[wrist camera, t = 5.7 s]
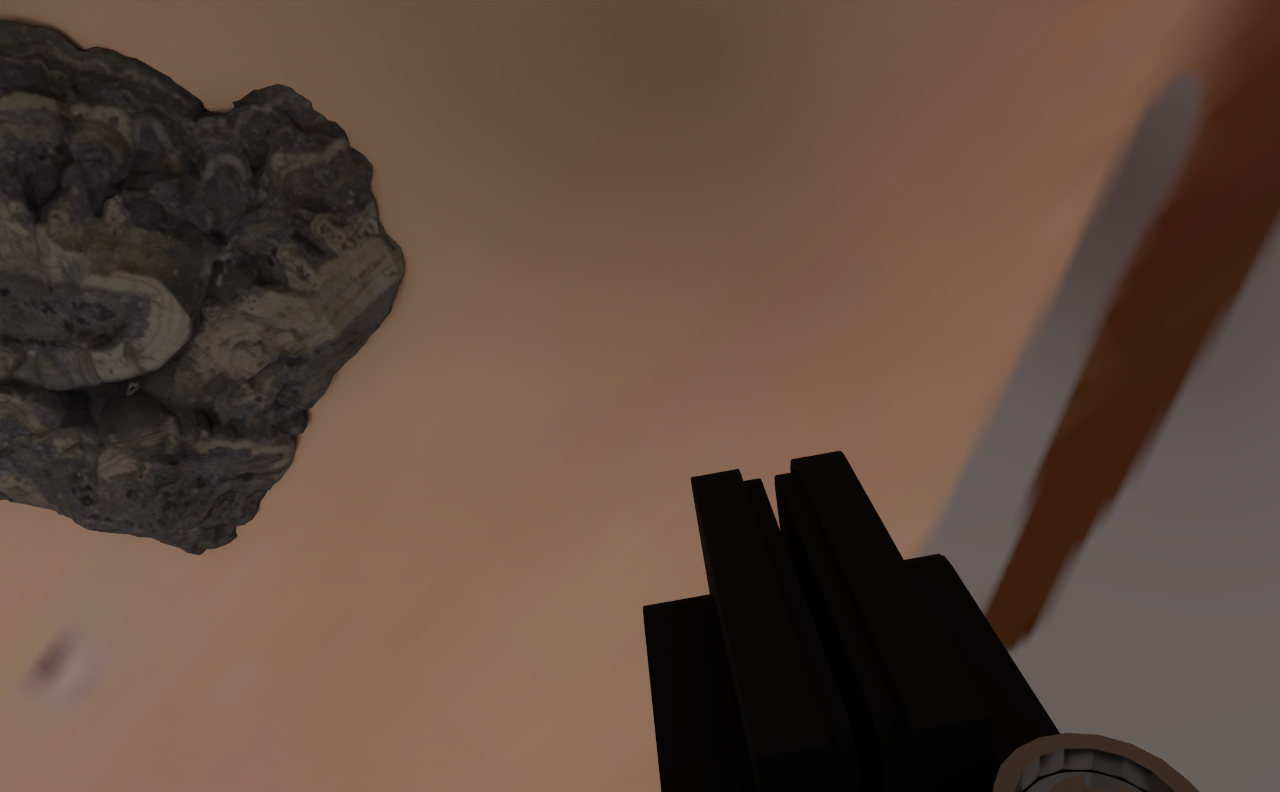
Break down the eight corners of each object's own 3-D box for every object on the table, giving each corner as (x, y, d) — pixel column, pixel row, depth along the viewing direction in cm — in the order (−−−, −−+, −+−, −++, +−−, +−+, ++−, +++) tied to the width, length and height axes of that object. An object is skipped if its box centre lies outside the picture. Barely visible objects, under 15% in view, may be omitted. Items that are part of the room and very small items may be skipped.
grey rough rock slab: (361, 570, 30) (432, 113, 24) (332, 648, 26) (407, 135, 21) (-287, 461, 27) (-385, -90, 21) (-416, 533, 23) (-577, -104, 18)
